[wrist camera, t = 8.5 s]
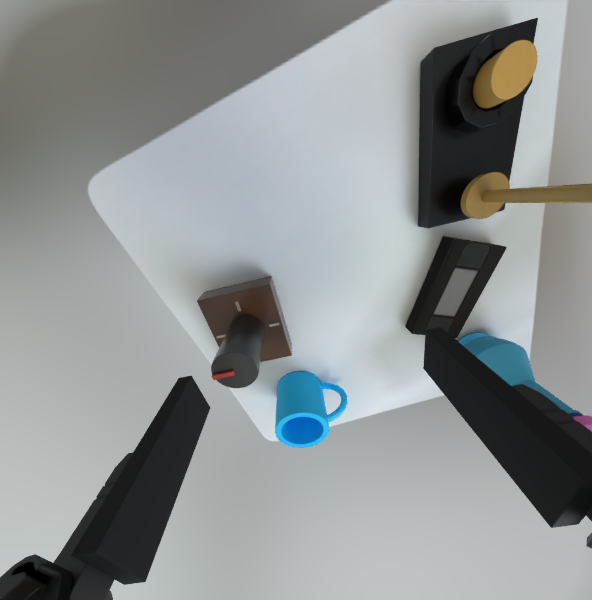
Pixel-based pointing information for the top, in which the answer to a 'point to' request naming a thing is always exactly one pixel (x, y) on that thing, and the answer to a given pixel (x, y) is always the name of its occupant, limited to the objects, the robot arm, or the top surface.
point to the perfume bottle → (513, 367)
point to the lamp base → (463, 123)
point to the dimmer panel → (248, 313)
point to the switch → (505, 74)
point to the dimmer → (240, 353)
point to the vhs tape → (453, 285)
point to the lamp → (515, 195)
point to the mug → (304, 409)
